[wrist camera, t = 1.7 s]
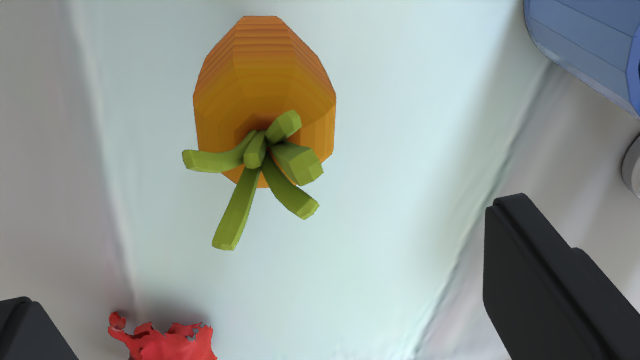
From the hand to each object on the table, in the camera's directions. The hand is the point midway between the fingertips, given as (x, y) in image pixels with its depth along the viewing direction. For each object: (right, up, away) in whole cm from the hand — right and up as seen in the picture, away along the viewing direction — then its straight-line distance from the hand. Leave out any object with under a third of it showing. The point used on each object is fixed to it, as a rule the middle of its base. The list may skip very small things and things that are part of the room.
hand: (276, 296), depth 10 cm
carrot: (-2, +10, +14) cm, 18 cm away
